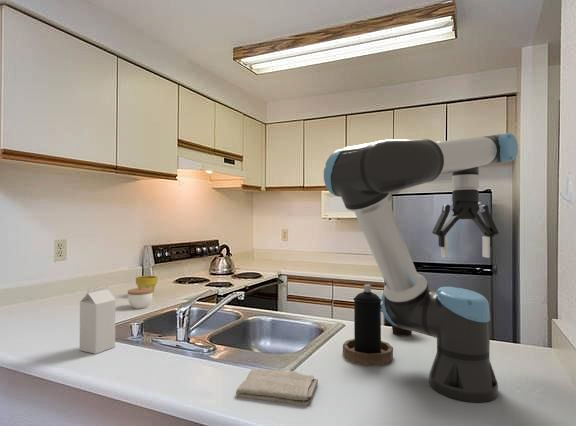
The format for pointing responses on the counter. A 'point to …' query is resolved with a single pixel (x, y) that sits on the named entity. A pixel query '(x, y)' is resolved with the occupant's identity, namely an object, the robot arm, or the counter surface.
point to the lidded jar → (140, 297)
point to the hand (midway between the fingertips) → (465, 257)
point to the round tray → (368, 354)
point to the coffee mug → (400, 331)
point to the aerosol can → (367, 322)
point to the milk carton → (97, 321)
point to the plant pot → (147, 282)
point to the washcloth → (278, 386)
